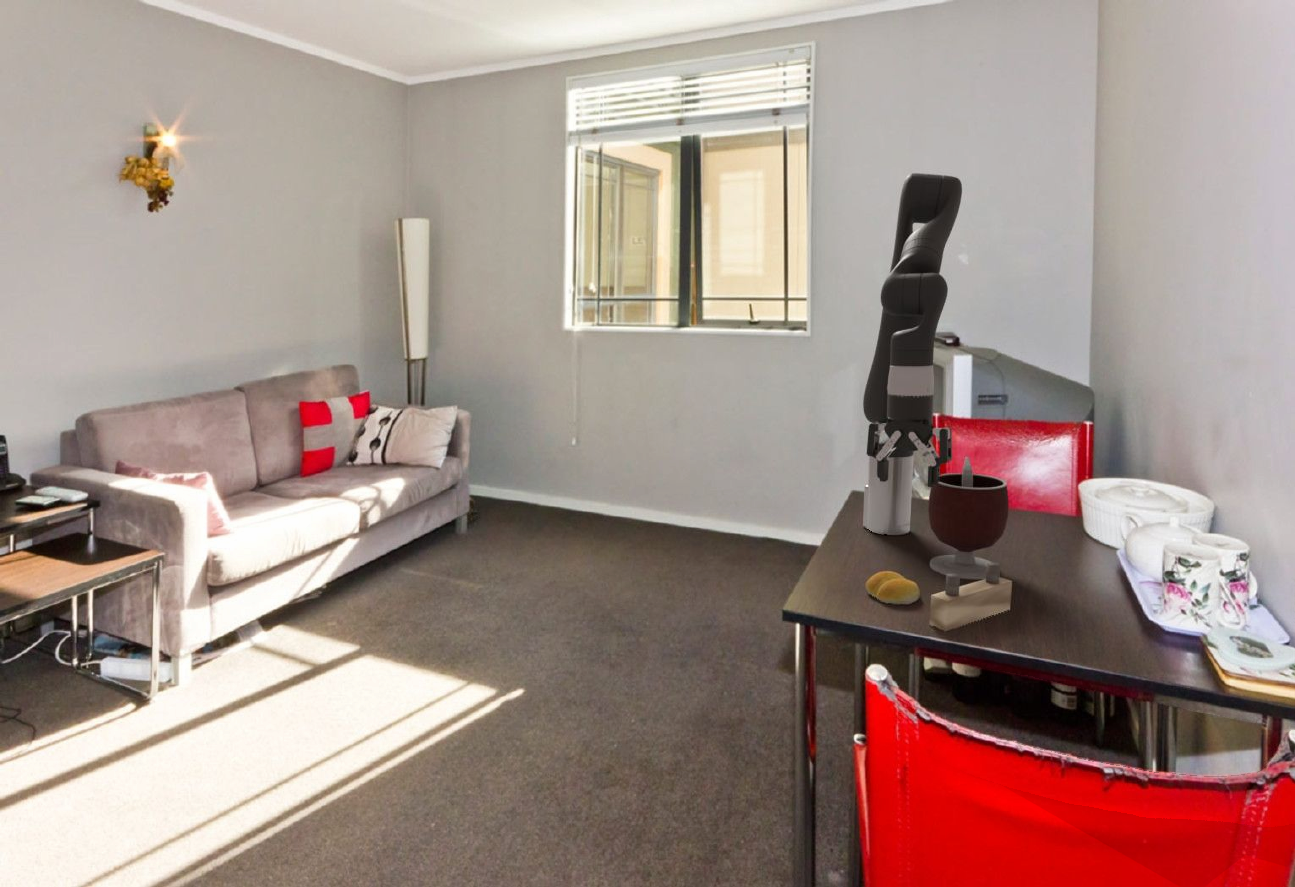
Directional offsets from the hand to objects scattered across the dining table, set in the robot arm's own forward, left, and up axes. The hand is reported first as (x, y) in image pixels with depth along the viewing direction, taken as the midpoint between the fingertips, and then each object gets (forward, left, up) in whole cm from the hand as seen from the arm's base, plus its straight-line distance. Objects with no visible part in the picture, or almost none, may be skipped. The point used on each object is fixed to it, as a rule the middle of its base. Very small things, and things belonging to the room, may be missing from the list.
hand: (907, 483), depth 139 cm
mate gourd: (0, +17, -19) cm, 26 cm away
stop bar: (+16, -3, -19) cm, 25 cm away
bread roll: (+3, -6, -19) cm, 20 cm away
